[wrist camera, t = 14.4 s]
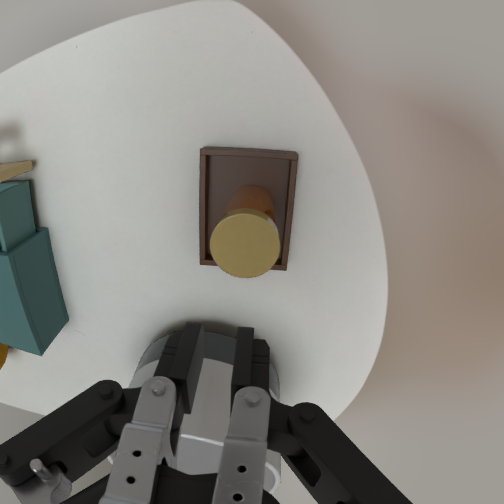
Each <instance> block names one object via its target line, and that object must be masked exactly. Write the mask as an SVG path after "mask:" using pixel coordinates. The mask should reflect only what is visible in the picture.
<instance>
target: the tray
mask: <svg viewBox="0 0 504 504" xmlns="http://www.w3.org/2000/svg"><path fill="white" fill-rule="evenodd" d="M297 160H298V154H297V152H293V151H281V150H268V149H253V148H233V147H203V148H201V149H200V191H199V238H200V265H213V266H218V265H217V264H216V262H215V261H214V259H213V257H212V254H211V251H210V239H211V235H212V232H213V230H214V228H215V226H216V224H217V222H218V221H219V220H220V219H221V218H222V215H223V213H224V210H225V208H226V206H227V203H228V201H229V198H230V197H231V195H232V194H233V192H234V191H236V190H237V189H238V188H240V187H243V186H246V185H255V186H259V187H261V188H263V189H265V190H266V191H267V192H268V193H269V194H270V195H271V197H272V199H273V201H274V206H275V218H276V227H277V229H278V232H279V238H280V253H279V256H278V259H277V261H276V262H275V264H274V265H273V266H272V268H270V269H269V270H284V271H286V270H287V261H288V252H289V243H290V234H291V224H292V215H293V205H294V195H295V184H296V174H297V162H298V161H297Z"/></svg>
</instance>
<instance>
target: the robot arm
mask: <svg viewBox="0 0 504 504" xmlns="http://www.w3.org/2000/svg"><path fill="white" fill-rule="evenodd" d="M253 337H254V328H249V327H238V332H237V340H236V348H235V356H234V363H233V371H232V379H231V402H230V423H229V428H228V433H227V436H226V437H225V440H224V444H223V449H222V454H221V459H220V464H219V469H218V473H209V474H197V475H189V474H186V473H183V472H181V471H178V470H177V458H178V452H179V445H180V439H181V432H182V421H183V417H184V414H190V415H191V412H192V407H193V403H194V399H195V394H196V390H197V385H198V381H199V377H200V372H201V368H202V364H203V359H204V330H203V324H202V323H192V322H187V323H186V325H185V328H184V331H183V332H174V333H173V334H172V335H171V336H169V337H168V339H167V341H166V344H165V347H164V349H163V351H162V354H161V357H160V359H159V362H158V364H157V367H156V370H155V372H154V375H153V377H152V378H149V379H148V380H146V381H145V382H144V383H143V385H142V386H141V387H137V388H126V389H122V387H121V385H120V384H119V383H117V382H116V381H113V380H102V381H99V382H97V383H96V384H94V385H93V386H91V387H90V388H88V389H87V390H85V391H84V392H82V393H81V394H79V395H78V396H76V397H75V398H73V399H71V400H70V401H68V402H67V403H65V404H64V405H62V406H61V407H59V408H58V409H56V410H55V411H53V412H51V413H50V414H48V415H47V416H45V417H44V418H42V419H41V420H39V421H37V422H36V423H35V424H33V425H31V426H30V427H28V428H27V429H25V430H23V431H22V432H20V433H19V434H17V435H16V436H14V437H12V438H11V439H9V440H8V441H6V442H4V443H3V444H1V445H0V478H2V480H3V481H4V482H5V483H6V484H7V485H8V486H9V487H10V488H11V489H12V490H13V491H14V493H15V494H16V496H17V497H18V499H19V500H20V502H21V503H22V504H280V503H279V502H278V501H277V500H276V499H275V498H274V497H273V496H272V495H271V494H270V493H269V492H268V491H266V490H265V489H263V484H264V474H265V464H266V454H267V449H269V450H272V451H275V452H278V453H280V454H281V456H282V457H283V459H284V460H285V462H286V463H287V464H288V466H289V467H290V468H291V470H292V471H293V472H294V473H295V475H296V476H297V477H298V479H299V480H300V481H301V483H302V484H303V485H304V486H305V488H306V489H307V490H308V491H309V493H310V494H311V495H312V496H313V498H314V499H315V500H316V501H317V502H318V504H413V503H412V502H410V501H409V500H408V499H407V498H406V497H405V496H404V495H403V494H402V493H401V492H400V491H399V490H398V489H397V488H396V487H395V486H394V485H393V484H392V483H391V482H390V481H389V480H388V479H387V478H386V477H385V476H384V475H383V474H382V473H381V471H380V470H378V468H377V467H376V466H375V465H374V464H373V463H372V462H371V461H370V460H369V459H368V458H367V457H366V456H365V455H364V454H363V453H362V452H361V451H360V450H359V449H358V448H357V447H356V445H355V444H354V443H353V442H352V441H351V440H350V439H349V438H348V437H347V436H346V435H345V434H344V433H343V431H342V430H341V429H340V428H339V427H338V426H337V425H336V424H335V423H334V422H333V421H332V420H331V418H330V417H329V416H328V415H327V414H326V413H325V412H324V411H323V410H322V409H321V408H320V407H319V406H318V405H316V404H313V403H308V402H303V403H299V404H296V405H295V406H293V407H291V406H288V405H284V404H282V403H279V402H278V401H276V400H275V399H274V398H273V397H272V396H271V394H270V390H269V356H270V347H269V346H268V344H267V342H266V341H265V340H262V339H253ZM116 450H117V451H116ZM114 451H116V454H115V458H114V461H113V465H112V469H111V472H110V474H108V475H107V476H105V477H103V478H102V479H100V480H99V481H97V482H95V483H94V484H92V485H90V486H89V487H87V488H85V489H84V490H82V491H80V492H79V493H77V494H75V495H73V496H72V497H70V493H71V490H72V483H73V482H74V481H76V480H77V479H78V478H80V477H81V476H83V475H84V474H85V473H86V472H88V471H89V470H91V469H92V468H93V467H95V466H96V465H97V464H99V463H100V462H101V461H103V460H104V459H105V458H107V457H108V456H109V455H111V454H112V453H113V452H114ZM69 497H70V498H69ZM65 499H66V500H65ZM64 500H65V501H64Z"/></svg>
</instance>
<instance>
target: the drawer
mask: <svg viewBox="0 0 504 504" xmlns="http://www.w3.org/2000/svg"><path fill="white" fill-rule="evenodd" d="M32 169H33V168H32V160H30V161H20V162H12V163H4V164H0V182H3V181H5V180H8V179H10V178H12V177H15V176H17V175H20V174H22V173H25V172H28V171H30V170H32ZM35 233H36V229H35V224H34V217H33V211H32V204H31V197H30V189H29V181H18V182H4V183H0V252H6V253H8V252H10V251H11V250H12V249H14V248H15V247H17V246H18V245H19V244H21V243H22V242H24V241H25V240H27V239H28V238H29V237H31V236H32V235H34V234H35Z"/></svg>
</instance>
